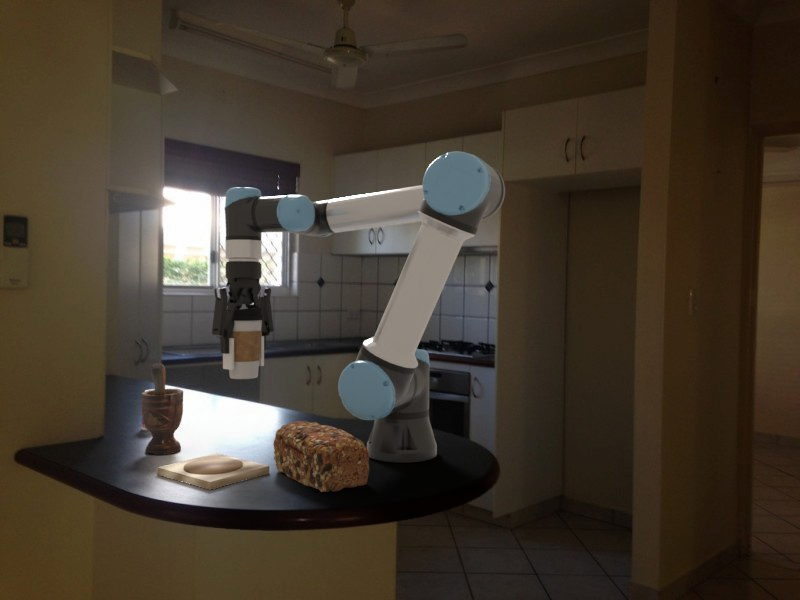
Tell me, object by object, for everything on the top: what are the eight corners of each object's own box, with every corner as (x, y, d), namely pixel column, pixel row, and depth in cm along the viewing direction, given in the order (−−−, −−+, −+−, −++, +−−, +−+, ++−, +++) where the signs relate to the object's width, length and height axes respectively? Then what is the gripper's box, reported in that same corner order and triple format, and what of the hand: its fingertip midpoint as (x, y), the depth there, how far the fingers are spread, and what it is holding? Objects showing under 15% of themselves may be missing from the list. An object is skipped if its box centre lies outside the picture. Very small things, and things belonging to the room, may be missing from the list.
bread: (272, 472, 135) (272, 421, 135) (319, 464, 141) (319, 415, 141) (322, 496, 120) (322, 439, 120) (372, 485, 127) (372, 431, 126)
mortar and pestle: (191, 456, 147) (191, 362, 146) (148, 461, 142) (148, 364, 142) (178, 445, 157) (178, 357, 156) (138, 449, 152) (137, 359, 152)
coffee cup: (254, 380, 143) (254, 308, 143) (216, 379, 145) (216, 307, 145) (269, 375, 152) (269, 307, 151) (234, 374, 153) (234, 306, 153)
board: (269, 473, 134) (269, 464, 134) (209, 490, 122) (209, 480, 122) (216, 460, 143) (216, 451, 143) (157, 474, 132) (157, 465, 132)
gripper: (267, 262, 158) (267, 362, 159) (192, 259, 142) (193, 370, 143) (290, 261, 154) (290, 364, 154) (215, 258, 138) (216, 373, 138)
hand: (243, 367), depth 148 cm, fingers closed on coffee cup, 7 cm apart
